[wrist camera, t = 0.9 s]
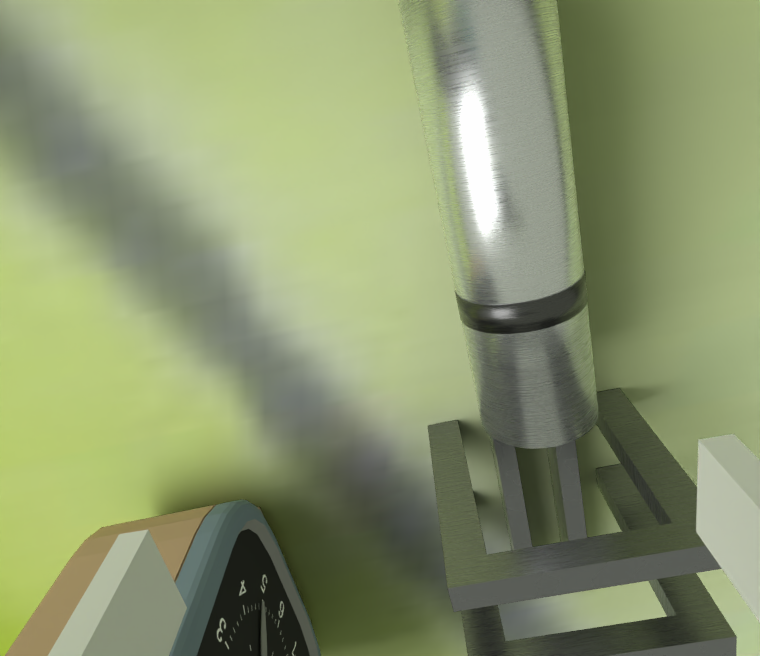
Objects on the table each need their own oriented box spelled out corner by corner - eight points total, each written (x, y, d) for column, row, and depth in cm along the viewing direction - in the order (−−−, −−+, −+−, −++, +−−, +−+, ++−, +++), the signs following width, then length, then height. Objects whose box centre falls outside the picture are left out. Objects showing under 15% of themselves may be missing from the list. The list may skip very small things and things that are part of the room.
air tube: (387, -32, 24) (387, -68, 19) (526, -71, 24) (569, -121, 18) (473, 395, 32) (491, 459, 27) (577, 375, 32) (617, 435, 26)
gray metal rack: (317, -25, 27) (261, -118, 15) (579, -101, 25) (752, -271, 13) (461, 565, 42) (492, 758, 30) (631, 537, 40) (734, 726, 28)
